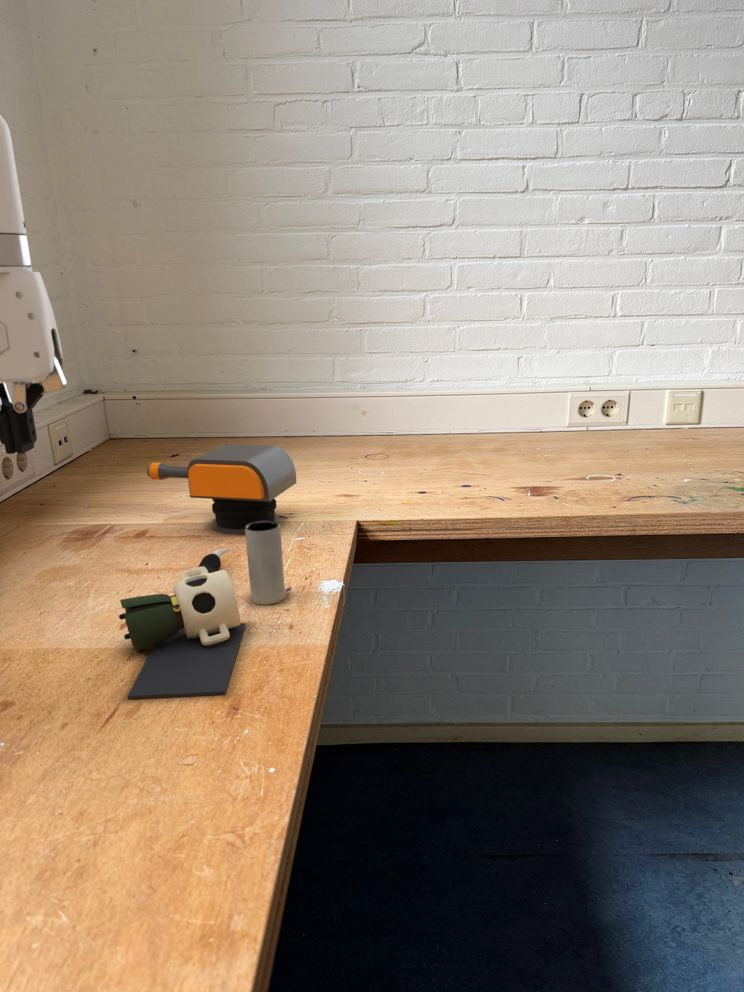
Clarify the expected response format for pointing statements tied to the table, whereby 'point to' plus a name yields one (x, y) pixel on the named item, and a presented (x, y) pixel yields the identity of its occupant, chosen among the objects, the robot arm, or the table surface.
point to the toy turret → (236, 482)
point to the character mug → (184, 610)
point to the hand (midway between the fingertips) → (20, 450)
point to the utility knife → (213, 560)
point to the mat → (188, 667)
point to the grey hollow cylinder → (265, 562)
